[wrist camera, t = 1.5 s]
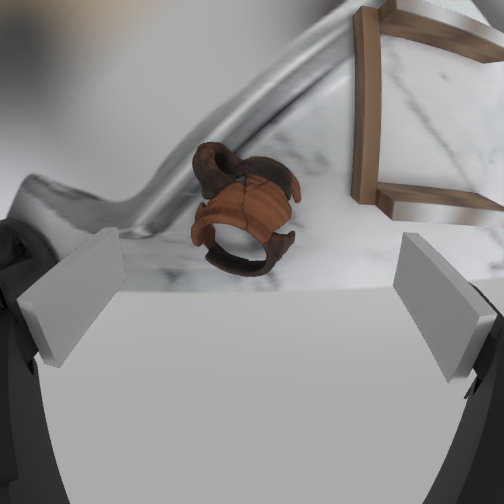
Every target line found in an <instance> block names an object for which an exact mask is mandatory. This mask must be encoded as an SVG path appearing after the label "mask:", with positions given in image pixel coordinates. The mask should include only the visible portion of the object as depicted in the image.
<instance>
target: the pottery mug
mask: <svg viewBox="0 0 504 504" xmlns="http://www.w3.org/2000/svg"><path fill="white" fill-rule="evenodd" d="M192 165H193V170H194V173H195V176H196V177H197V179H198V180H199V182H200V183H201V186H202V196H203V198H204V199H207V200H209V199H210V201H209V202H208V204H207V206H206V205H205V203H203V202H201V203H200V205H199V207H198V209H197V212H196V215H195V223H194V224H193V226H192V228H191V238H192V241H193V244H194V245H195V246H198V247H199V246H201V245H202V243H203V244H204V245H205V246H206V247H207V248H208V249H209V252H208V253H207V254H206V256H205V258H206V260H207V261H208V262H210V263H211V264H212V265H214V266H216V267H217V268H219V269H221V270H223V271H225V272H228V273H231V274H235V275H240V276H245V277H256V276H261V275H264V274H267V273H268V272H269V271H270V270H271V269H272V268H273V267H274V265H275V263H276V262H277V261H279V260H280V259H281V258H282V255H283V254H284V253H286V252H287V250H288V248H289V247H290V246H291V245H292V244H293V243H294V240H295V231H291V232H289V233H288V234H278V233H275V232H274V231H275V230H277V229H279V228H280V226H282V225H284V224H285V223H286V222H287V221H288V220H289V219H290V218H291V211H292V208H291V206H290V204H289V202H288V200H290V196H291V194H292V196H293V198H294V200H295V203H299V202H300V201H301V193H300V185H299V183H298V181H297V179H296V177H295V176H294V175H293V173H292V172H291V171H290V170H289V169H288V168H287V167H285V166H284V165H283V164H282V163H280V162H277V161H275V160H273V159H271V158H267V157H250V158H249V159H246V160H242V159H241V158H238V157H237V156H235V155H234V154H233V153H232V152H231V151H230V150H229V149H228V148H227V147H226V146H224V145H223V144H221V143H217V142H216V143H214V142H207V143H203V144H201V145H200V146H199V147H198V149H197V151H196V153H195V155H194V157H193V161H192ZM242 176H245V183H244V184H242V183H241V182H239V181H235V180H236V179H238V178H240V177H242ZM212 223H221V224H228V225H232V226H235V227H238V228H240V229H242V230H245V231H246V232H248V233H249V234H251V235H252V236H253V237H254V238H256V239H257V240H258V241H259V242H260V243H261V244H262V245H263V247H264V249H265V252H266V255H267V257H266V260H264V261H249V260H248V259H244V258H240V257H237V256H234V255H231V254H229V253H228V252H227V251H225V250H224V249H223V248H222V247H221V246H220V245H219V244H218V243H217V242H215V229H214V227H213V226H212V225H211V224H212Z"/></svg>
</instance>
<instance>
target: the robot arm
mask: <svg viewBox="0 0 504 504" xmlns="http://www.w3.org/2000/svg"><path fill="white" fill-rule="evenodd" d="M126 280H127V276H126V271H125V266H124V261H123V255H122V250H121V244H120V238H119V232H118V227H104V228H103V229H101V230H100V231H99V232H97V233H96V234H95V235H93V236H92V237H91V238H89V239H88V240H87V241H86V242H84V243H83V244H82V245H80V246H79V247H78V248H77V249H75V250H74V251H73V252H71V253H70V254H69V255H68V256H66V257H65V258H64V259H63V260H62V261H60V262H59V263H58V264H57V265H55V262H54V260H53V258H52V256H51V254H50V252H49V251H48V249H47V247H46V246H45V244H44V243H43V242H42V240H41V239H40V238H39V237H38V235H37V234H36V233H35V232H34V231H33V230H31V229H30V228H29V227H28V226H26V225H25V224H23V223H22V222H20V221H17V220H14V219H3V220H1V221H0V504H70V502H69V500H68V497H67V494H66V491H65V489H64V485H63V482H62V479H61V476H60V473H59V470H58V466H57V463H56V459H55V456H54V452H53V448H52V445H51V440H50V437H49V432H48V428H47V423H46V418H45V413H44V407H43V402H42V396H41V389H40V383H39V375H38V367H37V363H36V361H35V359H34V356H35V355H36V354H37V352H38V351H39V353H40V356H41V358H42V360H43V362H44V364H47V365H50V366H54V367H58V368H60V367H61V365H62V364H63V362H64V361H65V360H66V358H67V357H68V355H69V354H70V352H71V351H72V350H73V348H74V347H75V346H76V344H77V343H78V341H79V340H80V339H81V337H82V336H83V335H84V333H85V332H86V331H87V329H88V328H89V327H90V325H91V324H92V323H93V321H94V320H95V319H96V318H97V316H98V315H99V314H100V312H101V311H102V310H103V308H104V307H105V306H106V305H107V303H108V302H109V301H110V300H111V298H112V297H113V296H114V295H115V293H116V292H117V291H118V290H119V288H120V287H121V286H122V285H123V283H124V282H125V281H126ZM393 287H394V288H395V290H396V292H397V293H398V295H399V296H400V298H401V300H402V301H403V303H404V305H405V306H406V308H407V310H408V311H409V313H410V315H411V316H412V318H413V320H414V321H415V323H416V325H417V327H418V328H419V330H420V332H421V334H422V336H423V337H424V339H425V341H426V343H427V345H428V346H429V348H430V350H431V352H432V354H433V356H434V358H435V359H436V361H437V363H438V365H439V367H440V369H441V371H442V373H443V375H444V377H445V379H446V381H447V383H448V384H453V383H458V382H463V381H465V380H466V379H467V377H468V375H469V374H470V371H471V370H472V368H473V369H474V370H475V372H476V374H477V376H476V378H475V380H474V382H473V383H472V385H471V387H470V388H469V390H468V392H467V393H466V395H465V397H464V399H467V397H468V396H469V397H468V400H467V404H466V407H465V409H464V412H463V415H462V418H461V421H460V423H459V426H458V429H457V432H456V434H455V437H454V439H453V442H452V444H451V446H450V449H449V451H448V454H447V456H446V458H445V460H444V463H443V465H442V467H441V469H440V471H439V473H438V475H437V477H436V479H435V481H434V483H433V485H432V487H431V489H430V491H429V493H428V495H427V497H426V499H425V500H424V502H423V504H504V317H503V316H502V314H501V313H500V312H499V311H498V310H497V309H496V308H495V306H494V305H493V304H492V303H491V302H489V300H488V299H487V298H486V297H485V296H484V295H483V293H482V292H481V291H480V290H479V289H478V288H477V287H475V286H474V285H472V284H471V283H469V282H468V281H467V280H466V279H465V278H464V277H463V276H462V275H461V274H460V273H459V272H458V271H457V270H456V269H455V268H454V267H453V266H452V265H451V264H450V263H449V262H448V261H447V260H446V259H445V258H444V257H443V256H442V255H441V254H440V253H438V252H437V251H436V250H435V249H434V248H433V247H432V246H431V245H430V244H429V243H428V242H427V241H426V240H425V239H424V238H422V237H421V236H420V235H419V234H418V233H407V232H403V237H402V243H401V248H400V254H399V259H398V264H397V269H396V274H395V278H394V283H393Z"/></svg>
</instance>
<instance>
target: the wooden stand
mask: <svg viewBox="0 0 504 504" xmlns="http://www.w3.org/2000/svg"><path fill="white" fill-rule="evenodd" d="M353 23H354V44H355V134H354V156H353V173H352V187H351V197H352V198H353V199H354V200H355V201H356V202H357V203H358V204H366V205H376V206H377V207H378V208H379V209H380V210H381V211H382V212H383V213H384V214H386V215H387V216H388V217H389V218H390V219H391V220H392V221H410V222H427V223H442V224H456V225H470V226H482V227H494V228H504V207H503V206H501V205H500V204H498V203H496V202H494V201H492V200H490V199H488V198H486V197H484V196H482V195H480V194H477V193H471V192H463V191H456V190H448V189H440V188H432V187H422V186H413V185H403V184H392V183H380V182H377V179H378V167H379V152H380V134H381V92H382V86H381V46H380V33H381V34H386V35H391V36H395V37H400V38H404V39H408V40H412V41H416V42H420V43H424V44H427V45H431V46H434V47H438V48H441V49H444V50H447V51H450V52H454V53H456V54H459V55H462V56H465V57H468V58H471V59H473V60H476V61H478V62H481V63H483V64H485V63H492V62H500V61H504V34H503V33H502V32H500V31H498V30H496V29H494V28H492V27H489V26H487V25H485V24H483V23H481V22H479V21H476V20H474V19H472V18H469V17H467V16H465V15H462V14H460V13H457V12H454V11H452V10H449V9H446V8H444V7H441V6H438V5H435V4H432V3H429V2H426V1H423V0H387V1H386V2H385V3H384V4H383V5H382V6H381V7H379V8H378V9H376V8H371V7H366V6H361V7H360V8H359V9H358V10H357V12H356V13H355V14H354V15H353Z"/></svg>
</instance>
